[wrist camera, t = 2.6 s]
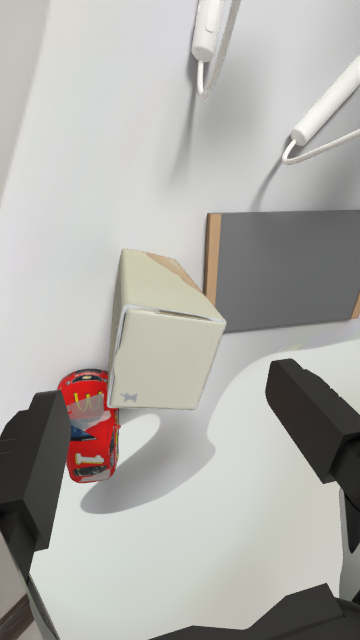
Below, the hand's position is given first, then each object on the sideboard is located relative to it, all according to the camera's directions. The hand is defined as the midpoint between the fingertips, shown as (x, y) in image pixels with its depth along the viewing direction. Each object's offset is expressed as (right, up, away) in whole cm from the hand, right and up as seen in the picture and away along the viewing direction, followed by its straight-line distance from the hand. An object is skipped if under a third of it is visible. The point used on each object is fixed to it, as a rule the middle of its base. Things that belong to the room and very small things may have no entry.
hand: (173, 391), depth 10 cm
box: (-3, +6, +11) cm, 12 cm away
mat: (+10, +7, +13) cm, 18 cm away
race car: (-9, -7, +16) cm, 20 cm away
